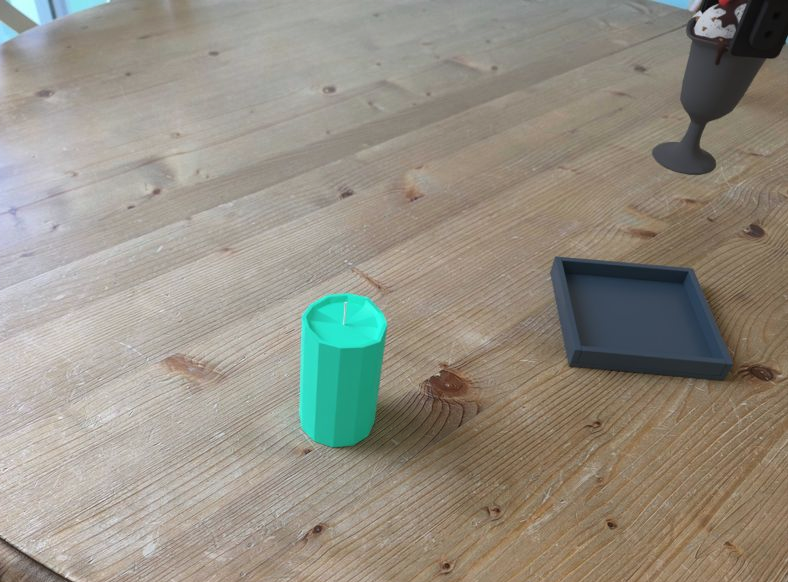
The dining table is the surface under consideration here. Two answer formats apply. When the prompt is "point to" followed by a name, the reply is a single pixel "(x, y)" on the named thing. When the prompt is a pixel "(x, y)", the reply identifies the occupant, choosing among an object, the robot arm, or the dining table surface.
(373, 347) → the candle
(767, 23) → the robot arm
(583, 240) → the dining table surface
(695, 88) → the sundae
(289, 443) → the dining table surface
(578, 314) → the tray
